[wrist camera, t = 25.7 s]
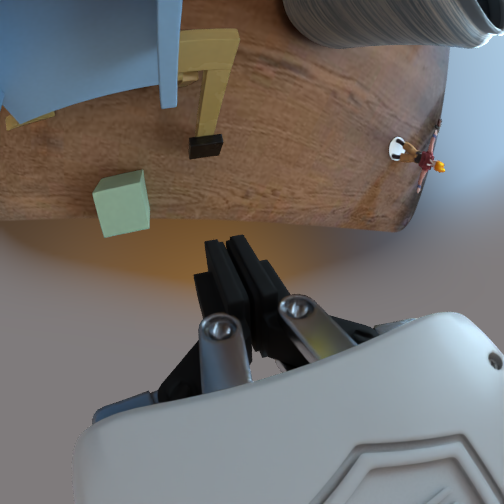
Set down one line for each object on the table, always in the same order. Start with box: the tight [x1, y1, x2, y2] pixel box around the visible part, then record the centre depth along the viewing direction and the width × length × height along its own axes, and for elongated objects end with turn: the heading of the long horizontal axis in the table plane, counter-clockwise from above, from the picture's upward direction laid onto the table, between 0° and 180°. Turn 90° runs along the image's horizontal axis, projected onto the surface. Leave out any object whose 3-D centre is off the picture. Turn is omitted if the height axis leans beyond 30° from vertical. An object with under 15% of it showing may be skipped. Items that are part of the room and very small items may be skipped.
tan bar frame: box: [5, 71, 198, 131], centre depth 15 cm, size 16×13×10 cm
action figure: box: [389, 120, 445, 193], centre depth 33 cm, size 12×3×9 cm, turn 167°
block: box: [92, 170, 150, 238], centre depth 27 cm, size 5×5×5 cm
